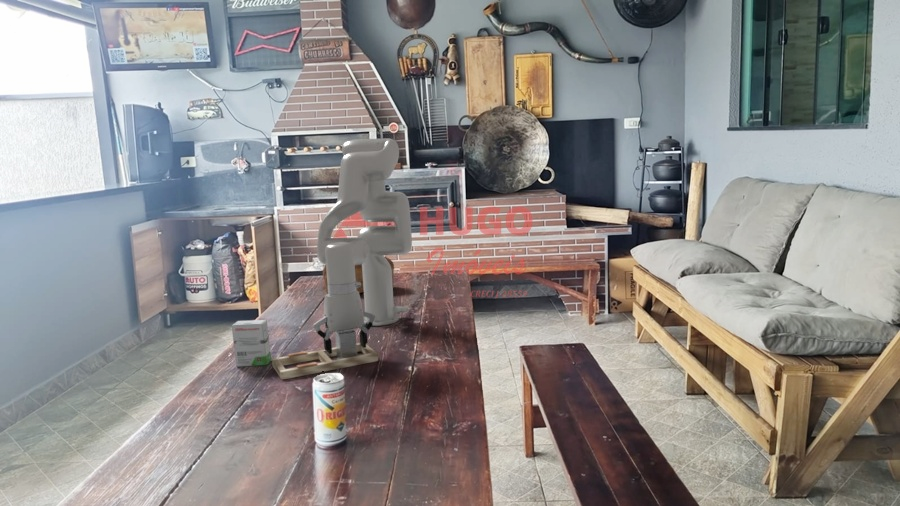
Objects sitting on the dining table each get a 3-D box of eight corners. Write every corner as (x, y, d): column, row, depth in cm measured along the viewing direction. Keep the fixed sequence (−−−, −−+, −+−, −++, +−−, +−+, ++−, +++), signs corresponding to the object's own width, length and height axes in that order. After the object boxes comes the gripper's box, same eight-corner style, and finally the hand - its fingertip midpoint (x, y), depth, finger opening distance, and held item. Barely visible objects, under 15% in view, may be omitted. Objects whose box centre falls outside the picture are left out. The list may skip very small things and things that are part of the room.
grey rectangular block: (352, 355, 180) (350, 327, 179) (357, 360, 176) (355, 332, 175) (336, 358, 178) (334, 330, 177) (341, 363, 174) (339, 334, 173)
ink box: (272, 359, 179) (268, 318, 177) (266, 365, 175) (262, 323, 172) (241, 360, 180) (237, 319, 178) (235, 367, 175) (230, 325, 173)
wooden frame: (364, 348, 185) (363, 340, 185) (378, 360, 175) (377, 352, 174) (272, 365, 174) (271, 356, 174) (281, 379, 164) (280, 370, 163)
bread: (396, 292, 253) (394, 256, 250) (323, 297, 249) (320, 261, 247) (394, 285, 265) (392, 251, 262) (325, 290, 261) (322, 256, 258)
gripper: (368, 281, 181) (371, 340, 184) (306, 290, 173) (311, 351, 176) (377, 286, 174) (380, 347, 177) (313, 295, 167) (318, 359, 170)
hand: (346, 349), depth 177 cm, fingers open, 9 cm apart
